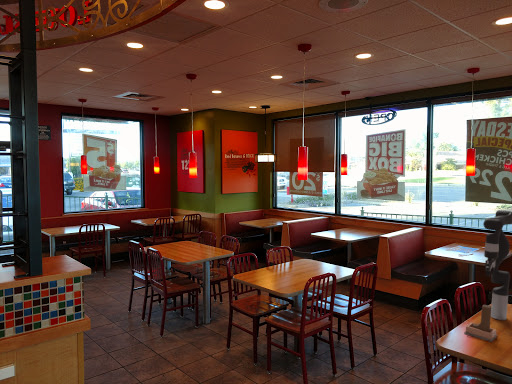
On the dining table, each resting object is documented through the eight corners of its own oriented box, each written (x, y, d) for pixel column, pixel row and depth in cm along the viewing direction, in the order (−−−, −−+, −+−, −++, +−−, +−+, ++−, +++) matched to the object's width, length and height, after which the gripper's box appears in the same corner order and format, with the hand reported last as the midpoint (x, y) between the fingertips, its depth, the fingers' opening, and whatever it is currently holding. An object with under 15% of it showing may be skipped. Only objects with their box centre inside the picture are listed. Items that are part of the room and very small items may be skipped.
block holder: (470, 328, 249) (471, 321, 249) (496, 336, 238) (497, 329, 238) (464, 333, 241) (464, 326, 240) (491, 342, 230) (492, 334, 230)
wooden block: (471, 332, 241) (473, 304, 239) (473, 330, 244) (475, 302, 243) (488, 336, 235) (490, 308, 234) (489, 334, 238) (491, 306, 237)
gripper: (488, 247, 251) (486, 271, 252) (481, 250, 241) (479, 275, 242) (501, 249, 246) (499, 274, 247) (495, 252, 236) (493, 278, 237)
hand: (489, 275), depth 245 cm, fingers open, 8 cm apart
